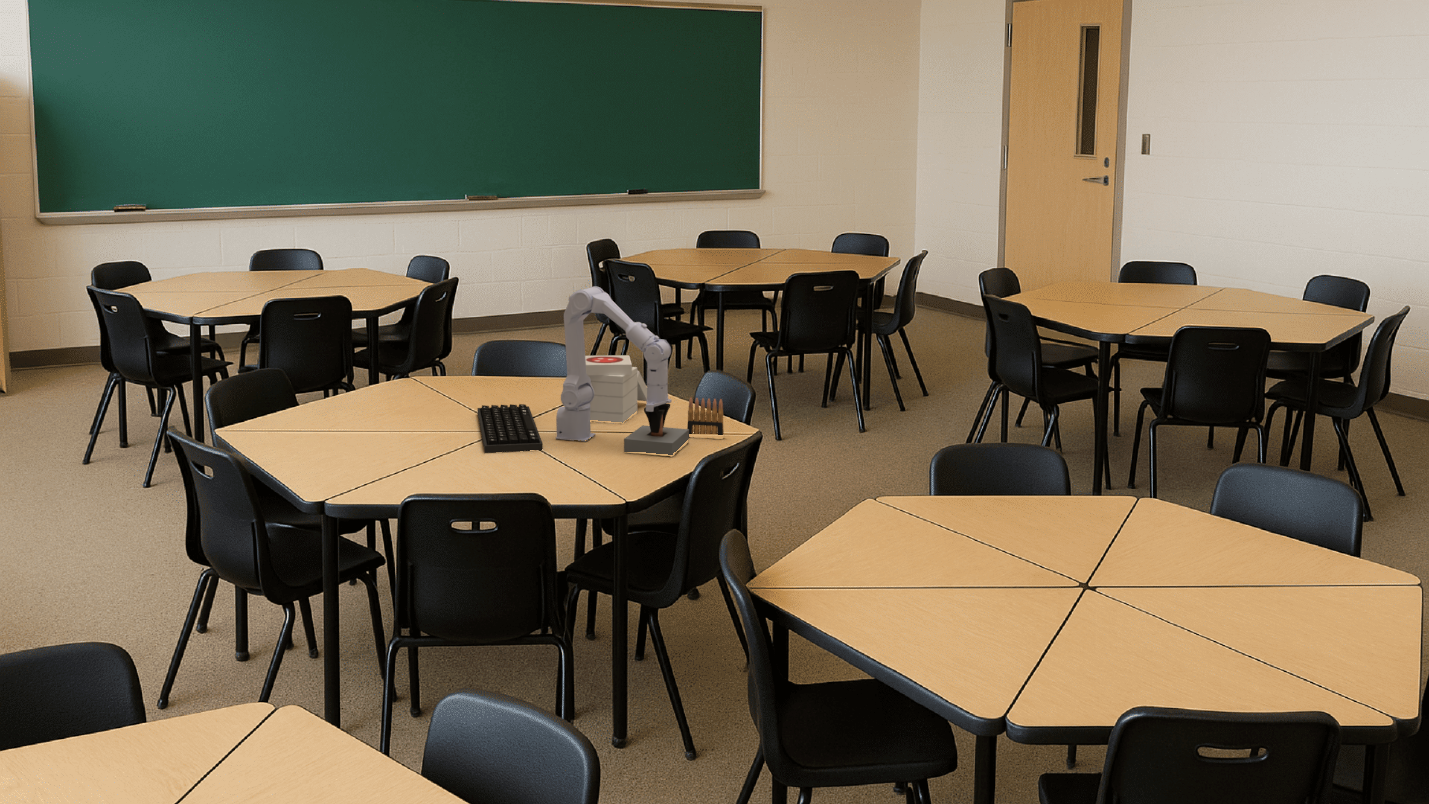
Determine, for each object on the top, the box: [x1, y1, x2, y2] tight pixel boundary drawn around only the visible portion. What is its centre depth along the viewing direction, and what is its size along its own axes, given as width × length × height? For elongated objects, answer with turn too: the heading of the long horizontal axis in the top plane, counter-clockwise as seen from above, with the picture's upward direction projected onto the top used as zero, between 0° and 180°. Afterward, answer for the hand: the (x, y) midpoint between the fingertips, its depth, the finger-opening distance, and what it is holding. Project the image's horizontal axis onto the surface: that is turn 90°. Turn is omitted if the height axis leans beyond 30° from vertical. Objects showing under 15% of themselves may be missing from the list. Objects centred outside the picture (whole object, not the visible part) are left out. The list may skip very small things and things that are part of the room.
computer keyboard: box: [477, 403, 544, 454], centre depth 343 cm, size 45×16×4 cm, turn 14°
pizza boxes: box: [585, 354, 647, 423], centre depth 366 cm, size 19×30×18 cm, turn 166°
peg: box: [651, 415, 663, 437], centre depth 327 cm, size 3×3×8 cm
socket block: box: [623, 425, 690, 455], centre depth 328 cm, size 14×16×4 cm
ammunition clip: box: [686, 397, 724, 435], centre depth 339 cm, size 11×2×12 cm, turn 82°
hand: (657, 430), depth 327 cm, fingers closed on peg, 3 cm apart
